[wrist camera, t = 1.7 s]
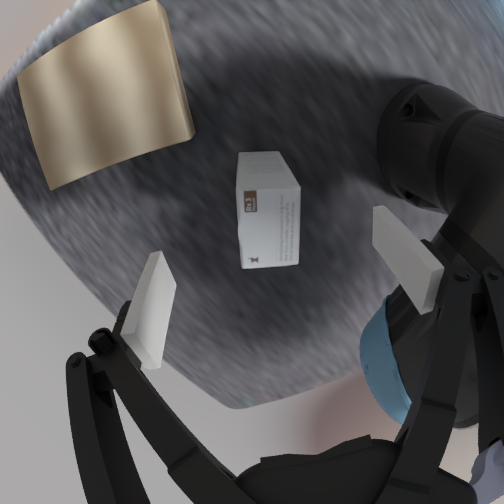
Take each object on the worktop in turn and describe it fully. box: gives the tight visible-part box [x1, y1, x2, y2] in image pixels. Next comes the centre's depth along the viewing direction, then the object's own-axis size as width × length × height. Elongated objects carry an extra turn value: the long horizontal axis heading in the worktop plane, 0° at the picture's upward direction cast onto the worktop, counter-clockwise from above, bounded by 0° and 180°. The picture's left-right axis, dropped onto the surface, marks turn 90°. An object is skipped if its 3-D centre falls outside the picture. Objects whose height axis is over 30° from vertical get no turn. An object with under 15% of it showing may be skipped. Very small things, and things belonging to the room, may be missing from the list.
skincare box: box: [236, 151, 301, 269], centre depth 24 cm, size 6×4×12 cm
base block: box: [17, 0, 196, 191], centre depth 21 cm, size 16×14×4 cm
